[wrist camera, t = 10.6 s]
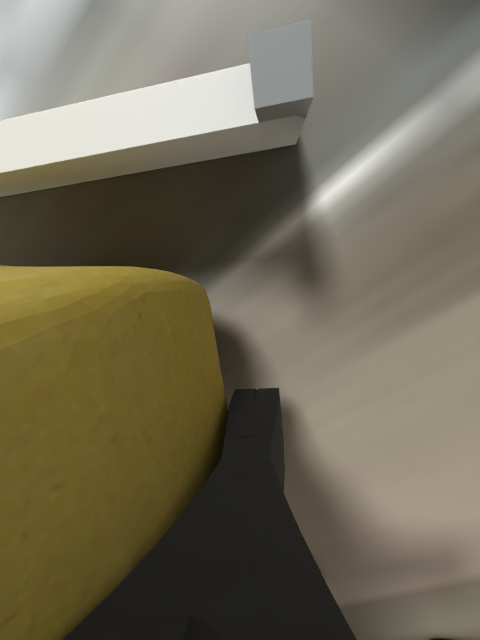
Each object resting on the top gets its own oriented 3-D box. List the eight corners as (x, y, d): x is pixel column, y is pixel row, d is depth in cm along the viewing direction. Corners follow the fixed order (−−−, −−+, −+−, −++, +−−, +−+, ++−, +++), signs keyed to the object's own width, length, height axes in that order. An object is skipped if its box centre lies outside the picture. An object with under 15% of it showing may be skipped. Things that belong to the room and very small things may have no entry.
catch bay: (320, 577, 16) (334, 707, 12) (0, 556, 19) (-72, 651, 15) (293, 109, 8) (310, 17, 4) (-260, 219, 11) (-564, 234, 7)
